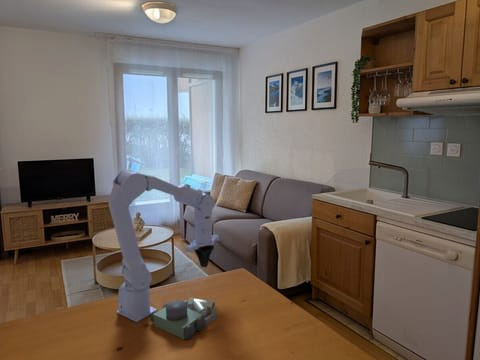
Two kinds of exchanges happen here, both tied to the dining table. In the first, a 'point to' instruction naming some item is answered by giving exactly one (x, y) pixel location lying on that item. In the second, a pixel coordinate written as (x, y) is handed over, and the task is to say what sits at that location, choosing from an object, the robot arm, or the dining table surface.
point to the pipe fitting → (201, 306)
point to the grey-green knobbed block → (180, 319)
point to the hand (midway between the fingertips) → (203, 266)
